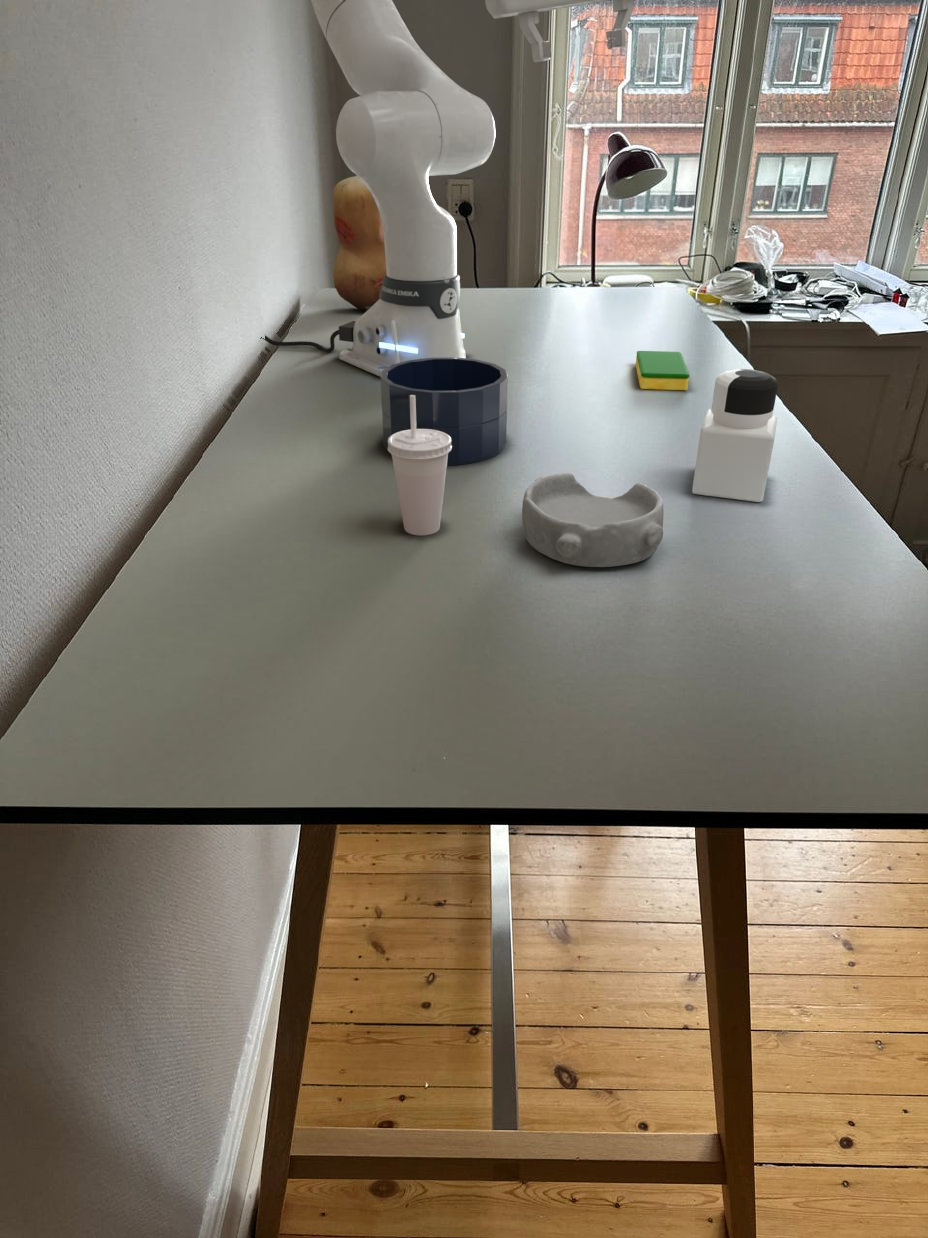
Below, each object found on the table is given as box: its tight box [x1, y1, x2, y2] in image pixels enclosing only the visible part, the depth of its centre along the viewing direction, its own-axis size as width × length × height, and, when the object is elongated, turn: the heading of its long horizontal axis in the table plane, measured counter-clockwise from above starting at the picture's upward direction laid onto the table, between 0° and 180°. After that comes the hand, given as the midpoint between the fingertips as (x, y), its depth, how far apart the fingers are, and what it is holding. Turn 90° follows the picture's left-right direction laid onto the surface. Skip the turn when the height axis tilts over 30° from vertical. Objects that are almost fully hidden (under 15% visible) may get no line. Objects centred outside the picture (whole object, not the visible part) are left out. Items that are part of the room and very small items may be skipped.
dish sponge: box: [635, 350, 690, 391], centre depth 140 cm, size 7×14×2 cm, turn 174°
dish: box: [521, 472, 665, 568], centre depth 88 cm, size 14×14×5 cm
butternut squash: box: [332, 175, 386, 311], centre depth 177 cm, size 14×13×25 cm
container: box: [691, 368, 779, 503], centre depth 99 cm, size 8×8×13 cm
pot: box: [380, 357, 509, 466], centre depth 112 cm, size 16×16×9 cm
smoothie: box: [387, 395, 452, 536], centre depth 89 cm, size 6×6×14 cm
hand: (579, 54), depth 100 cm, fingers open, 8 cm apart
